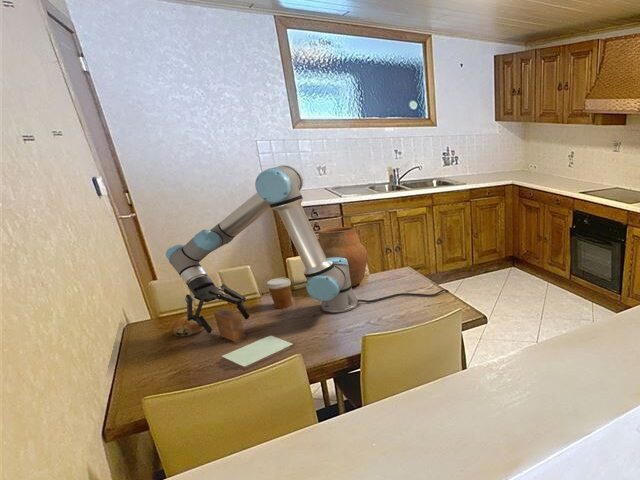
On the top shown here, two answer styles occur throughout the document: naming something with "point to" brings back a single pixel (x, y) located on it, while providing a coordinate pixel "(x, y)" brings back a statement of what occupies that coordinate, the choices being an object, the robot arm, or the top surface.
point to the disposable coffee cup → (280, 292)
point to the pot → (345, 249)
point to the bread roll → (186, 327)
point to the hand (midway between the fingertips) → (229, 324)
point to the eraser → (229, 324)
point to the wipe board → (256, 350)
